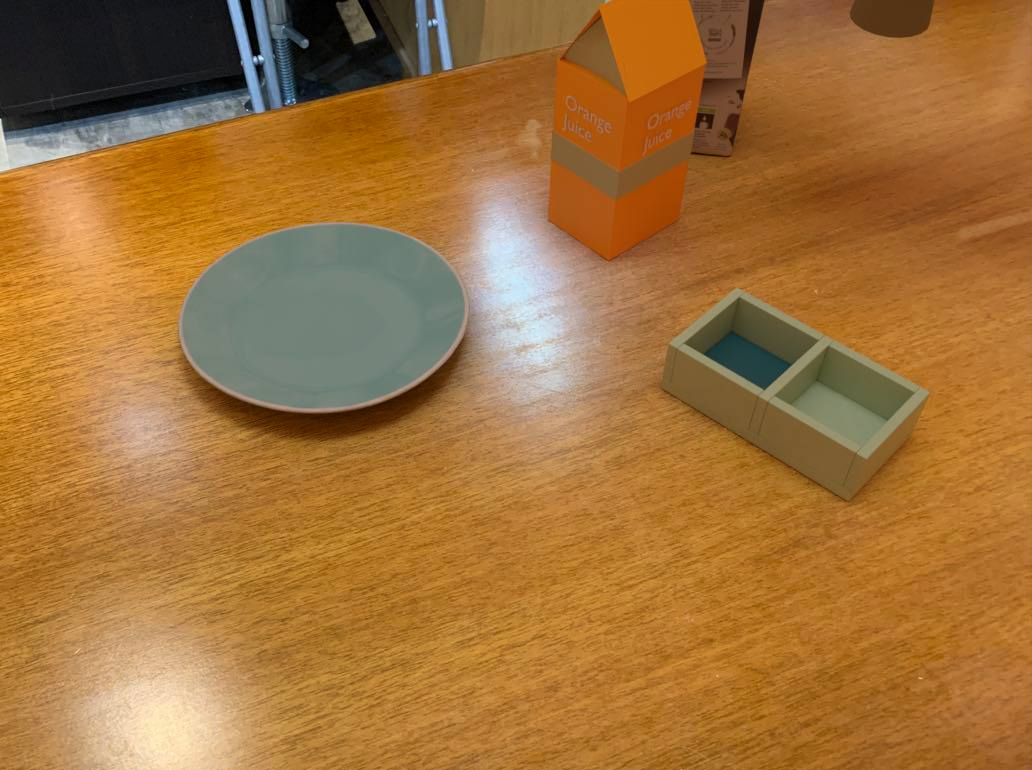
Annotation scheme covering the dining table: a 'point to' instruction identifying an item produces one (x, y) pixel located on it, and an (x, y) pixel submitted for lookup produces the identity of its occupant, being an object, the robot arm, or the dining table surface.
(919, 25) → the brown pawn
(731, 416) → the tray
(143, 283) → the dining table surface
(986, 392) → the dining table surface
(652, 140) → the orange juice
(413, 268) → the plate
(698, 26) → the coffee box
